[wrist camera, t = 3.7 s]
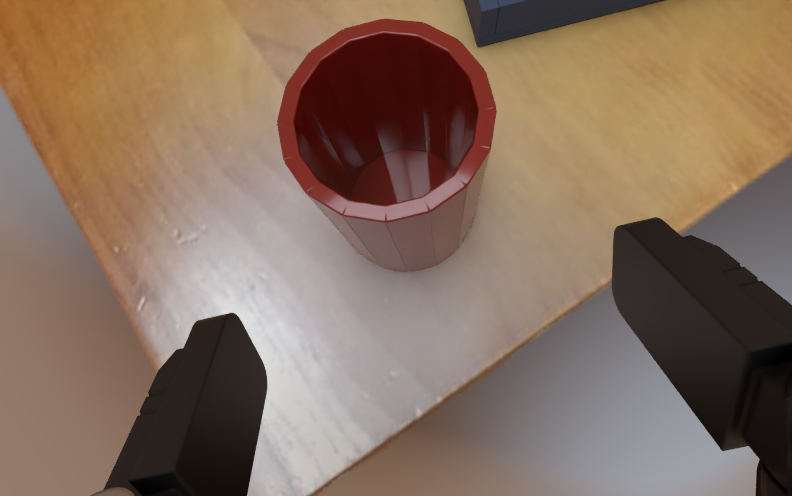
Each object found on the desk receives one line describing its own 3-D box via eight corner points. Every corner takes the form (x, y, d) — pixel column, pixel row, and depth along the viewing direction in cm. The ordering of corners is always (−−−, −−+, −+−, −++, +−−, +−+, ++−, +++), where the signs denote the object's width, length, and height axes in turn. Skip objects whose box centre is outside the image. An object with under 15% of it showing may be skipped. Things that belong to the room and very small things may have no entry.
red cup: (356, 285, 22) (297, 243, 13) (331, 162, 23) (263, 48, 14) (488, 254, 21) (520, 190, 13) (456, 131, 23) (464, -4, 14)
